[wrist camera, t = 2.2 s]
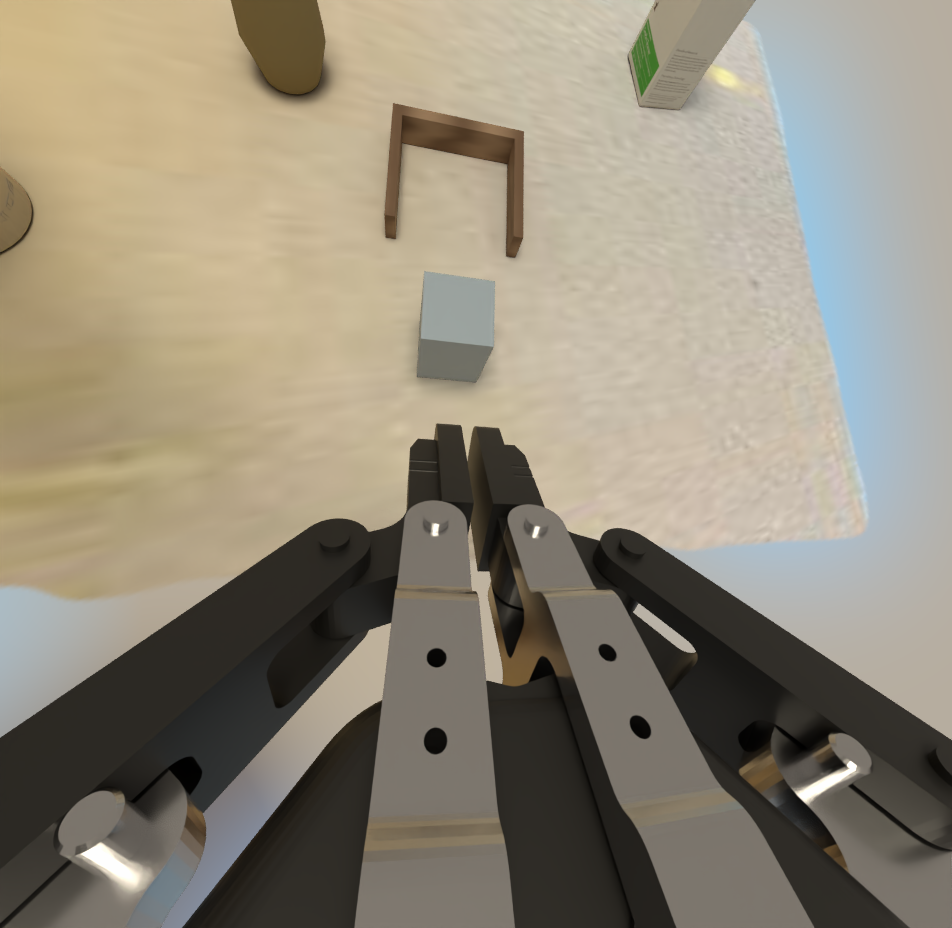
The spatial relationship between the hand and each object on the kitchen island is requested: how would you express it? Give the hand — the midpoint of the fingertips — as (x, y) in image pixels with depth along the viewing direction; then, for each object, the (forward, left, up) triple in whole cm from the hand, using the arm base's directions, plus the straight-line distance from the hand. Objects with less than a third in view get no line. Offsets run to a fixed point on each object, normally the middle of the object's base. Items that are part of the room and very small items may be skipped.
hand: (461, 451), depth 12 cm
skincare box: (+28, +57, -26) cm, 69 cm away
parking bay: (+2, +34, -26) cm, 43 cm away
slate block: (+2, +16, -26) cm, 31 cm away
